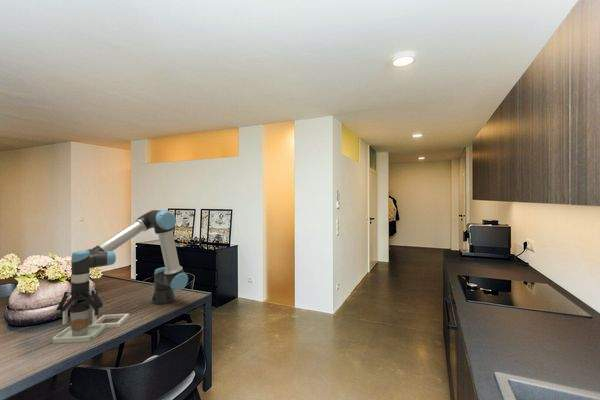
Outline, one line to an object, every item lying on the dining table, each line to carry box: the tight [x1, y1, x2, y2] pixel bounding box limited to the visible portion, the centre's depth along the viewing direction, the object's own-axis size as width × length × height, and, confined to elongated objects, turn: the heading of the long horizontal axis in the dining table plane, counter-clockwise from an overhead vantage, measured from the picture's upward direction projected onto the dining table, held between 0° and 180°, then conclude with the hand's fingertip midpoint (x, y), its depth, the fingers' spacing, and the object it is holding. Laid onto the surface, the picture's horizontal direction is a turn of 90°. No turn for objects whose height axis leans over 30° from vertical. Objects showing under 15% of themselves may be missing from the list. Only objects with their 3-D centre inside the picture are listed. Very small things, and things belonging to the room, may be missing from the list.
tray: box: [50, 324, 107, 345], centre depth 148 cm, size 18×14×2 cm
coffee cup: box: [69, 302, 91, 337], centre depth 148 cm, size 8×8×15 cm
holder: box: [90, 313, 130, 329], centre depth 164 cm, size 14×14×2 cm
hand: (80, 322), depth 148 cm, fingers open, 13 cm apart
